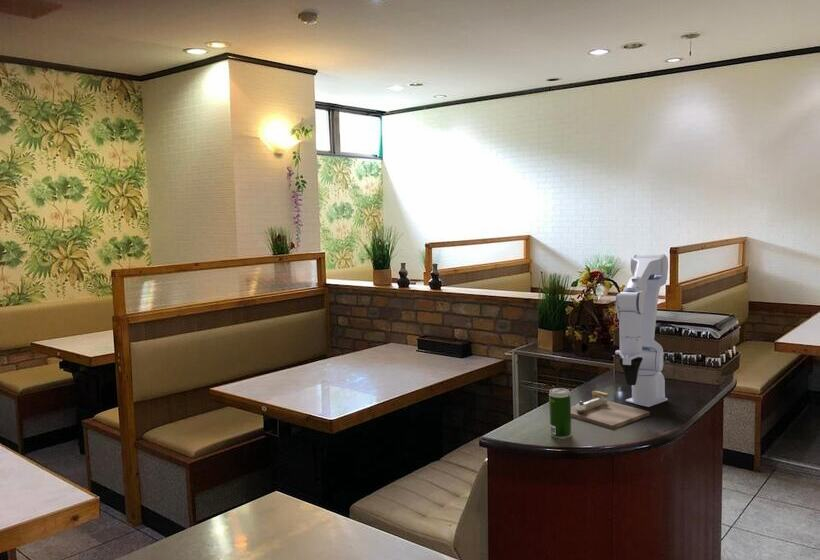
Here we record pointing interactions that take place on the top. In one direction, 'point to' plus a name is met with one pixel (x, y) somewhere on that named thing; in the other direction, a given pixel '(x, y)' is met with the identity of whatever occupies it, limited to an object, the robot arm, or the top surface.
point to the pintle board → (609, 413)
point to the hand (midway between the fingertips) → (631, 384)
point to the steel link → (590, 404)
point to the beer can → (560, 413)
